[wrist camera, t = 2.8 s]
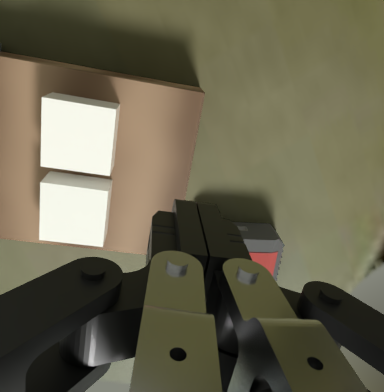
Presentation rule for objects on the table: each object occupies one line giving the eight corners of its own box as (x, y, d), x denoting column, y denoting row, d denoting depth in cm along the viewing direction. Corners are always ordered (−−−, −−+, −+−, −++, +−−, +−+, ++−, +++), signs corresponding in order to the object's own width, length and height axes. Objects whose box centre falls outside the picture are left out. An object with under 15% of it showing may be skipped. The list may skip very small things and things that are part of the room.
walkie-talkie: (174, 204, 28) (160, 382, 36) (176, 231, 24) (160, 425, 32) (280, 209, 29) (245, 381, 37) (299, 236, 25) (255, 423, 33)
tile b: (112, 179, 23) (108, 191, 22) (107, 232, 25) (102, 247, 23) (49, 170, 23) (40, 182, 21) (48, 225, 24) (39, 239, 23)
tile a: (120, 103, 21) (116, 109, 20) (113, 165, 23) (109, 176, 21) (52, 92, 21) (41, 97, 19) (50, 156, 22) (40, 166, 21)
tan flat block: (200, 87, 24) (205, 93, 22) (172, 237, 29) (173, 257, 26) (1, 51, 23) (-21, 52, 20) (5, 217, 27) (-13, 236, 24)
